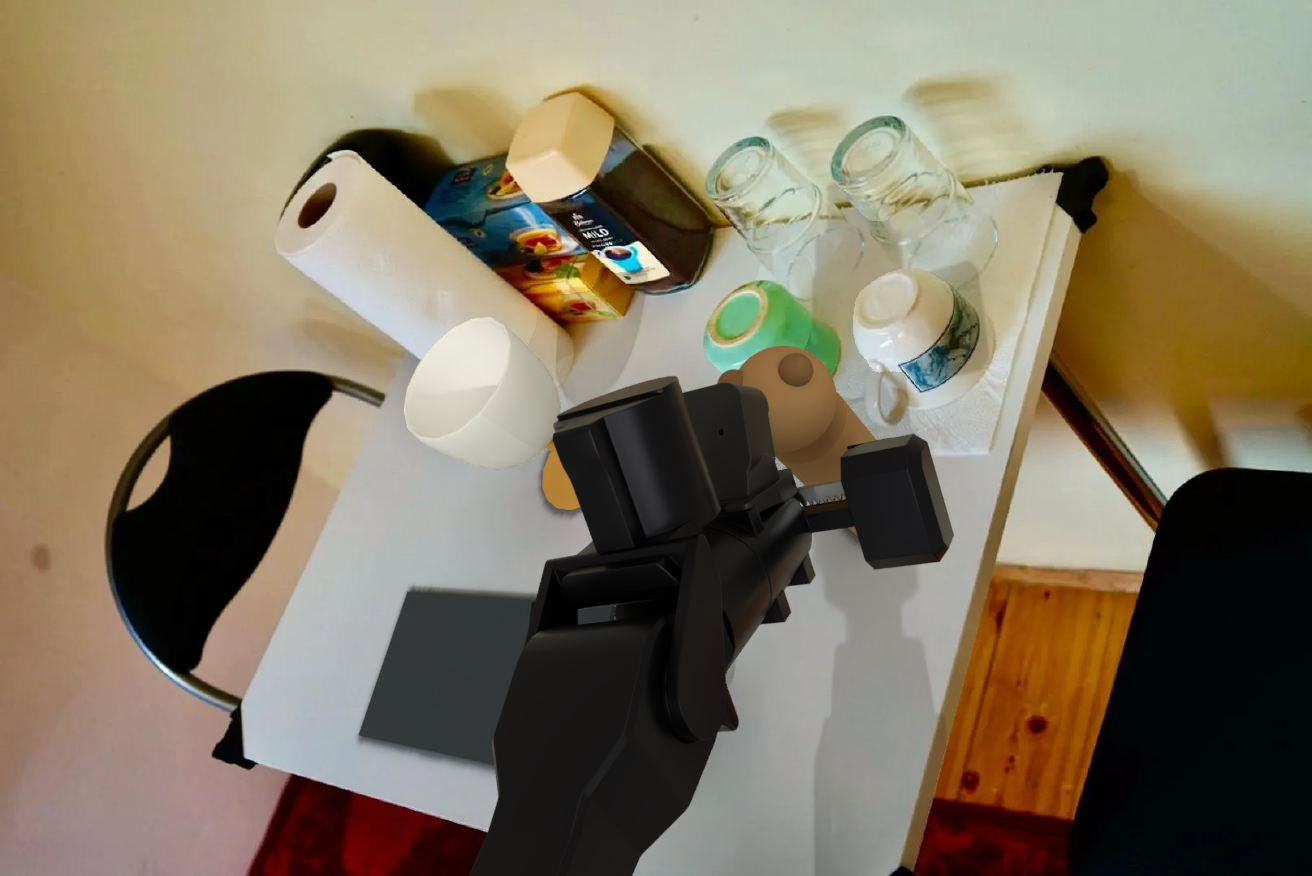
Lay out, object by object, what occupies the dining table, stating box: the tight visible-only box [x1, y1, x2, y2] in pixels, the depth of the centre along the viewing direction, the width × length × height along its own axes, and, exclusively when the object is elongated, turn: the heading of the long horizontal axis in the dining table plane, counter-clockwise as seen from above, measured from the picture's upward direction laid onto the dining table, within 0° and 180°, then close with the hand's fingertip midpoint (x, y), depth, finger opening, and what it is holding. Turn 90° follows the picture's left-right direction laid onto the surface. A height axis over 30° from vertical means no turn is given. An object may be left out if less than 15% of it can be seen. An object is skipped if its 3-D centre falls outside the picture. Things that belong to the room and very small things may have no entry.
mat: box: [358, 591, 616, 766], centre depth 79 cm, size 26×14×1 cm, turn 75°
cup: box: [403, 316, 580, 511], centre depth 78 cm, size 12×12×17 cm
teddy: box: [716, 345, 877, 536], centre depth 59 cm, size 6×6×20 cm
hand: (810, 471), depth 56 cm, fingers open, 9 cm apart
